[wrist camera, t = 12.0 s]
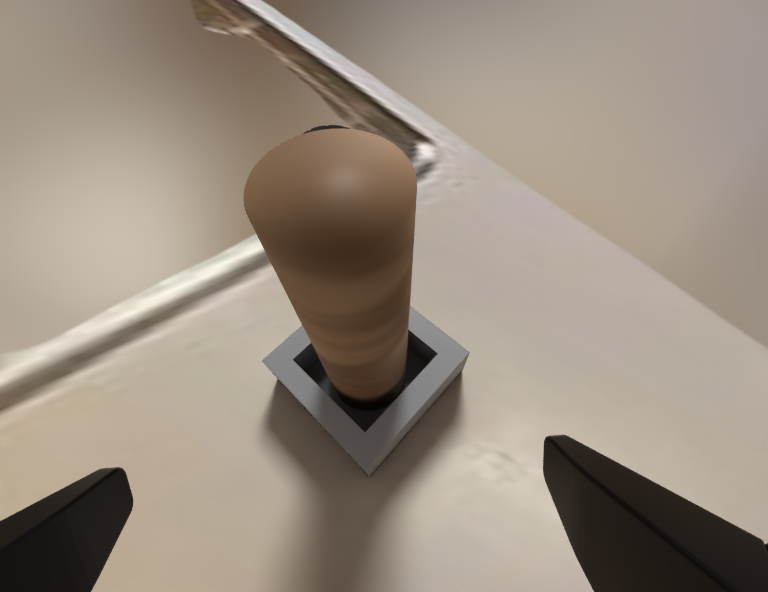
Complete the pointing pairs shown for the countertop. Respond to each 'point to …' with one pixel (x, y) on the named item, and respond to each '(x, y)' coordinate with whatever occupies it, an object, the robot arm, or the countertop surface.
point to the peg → (342, 252)
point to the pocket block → (382, 426)
